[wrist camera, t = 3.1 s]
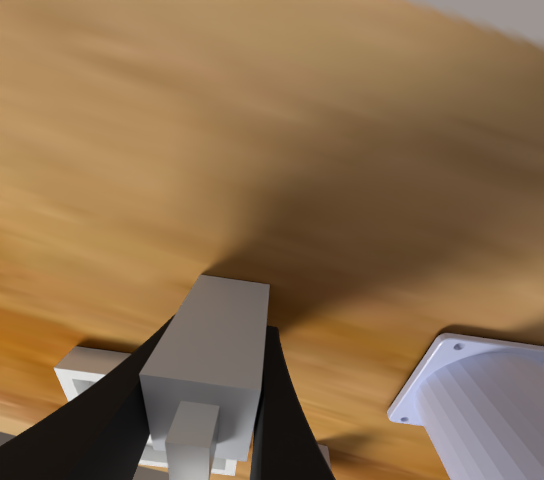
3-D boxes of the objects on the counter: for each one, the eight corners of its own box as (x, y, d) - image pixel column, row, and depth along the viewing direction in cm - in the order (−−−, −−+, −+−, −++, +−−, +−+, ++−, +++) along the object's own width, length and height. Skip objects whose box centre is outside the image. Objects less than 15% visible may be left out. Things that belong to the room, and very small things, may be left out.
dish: (250, 369, 14) (247, 393, 12) (237, 452, 18) (234, 475, 17) (75, 346, 13) (53, 367, 12) (107, 436, 18) (94, 458, 17)
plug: (269, 284, 11) (256, 432, 5) (259, 346, 13) (241, 502, 7) (200, 274, 11) (114, 415, 5) (200, 338, 13) (137, 489, 7)
